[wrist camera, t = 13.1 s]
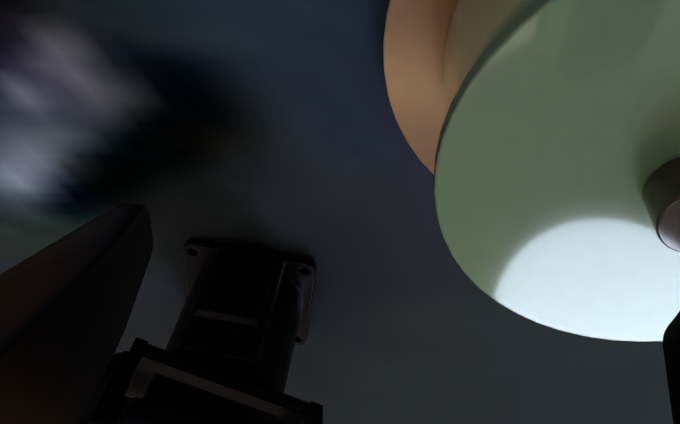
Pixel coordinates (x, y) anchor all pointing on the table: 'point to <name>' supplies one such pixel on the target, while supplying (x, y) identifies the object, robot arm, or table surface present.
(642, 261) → the pot
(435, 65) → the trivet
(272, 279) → the robot arm
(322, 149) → the table surface
